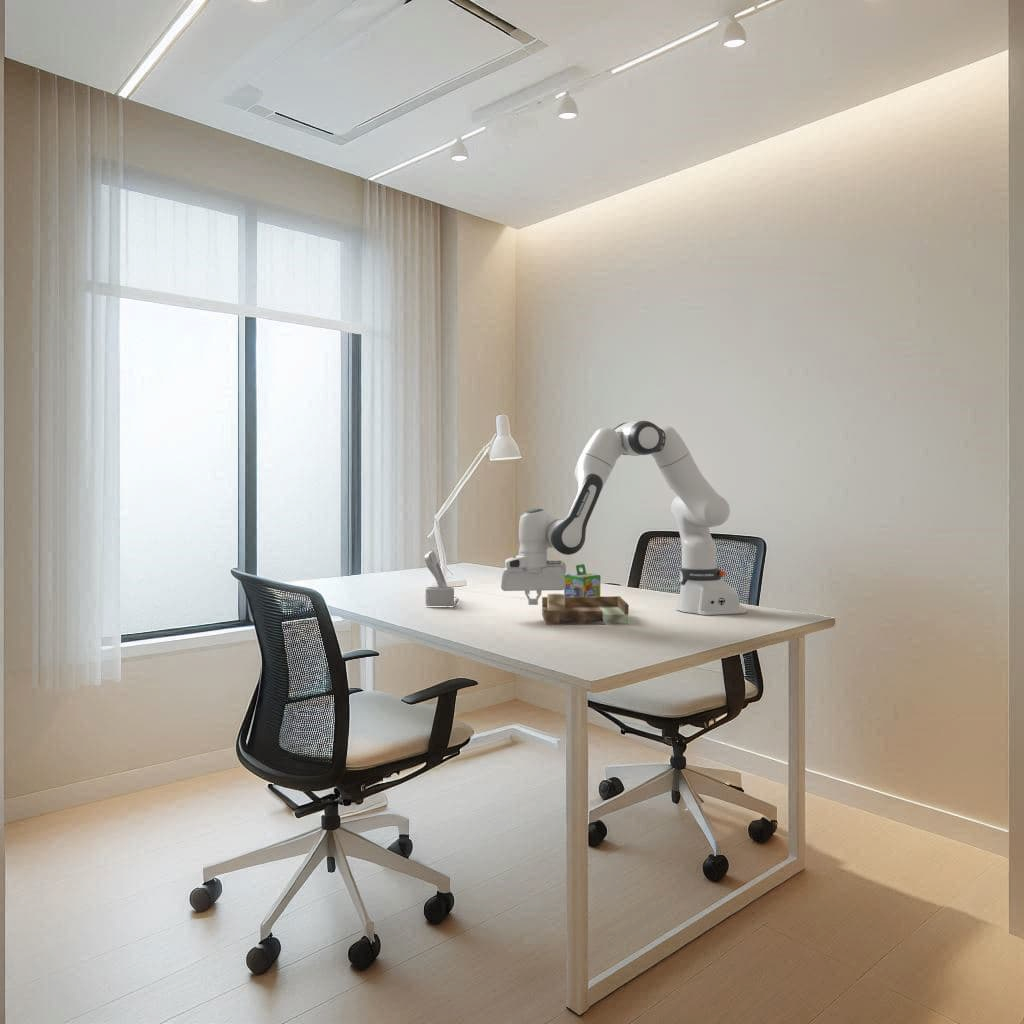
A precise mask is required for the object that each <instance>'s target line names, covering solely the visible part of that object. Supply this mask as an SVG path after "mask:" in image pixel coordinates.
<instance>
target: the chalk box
mask: <svg viewBox="0 0 1024 1024" xmlns="http://www.w3.org/2000/svg"><path fill="white" fill-rule="evenodd" d="M575 569H576V573H575V572H574V573H567V574H564V577H565V588H564V590H563V591H564V592H563V594H564V595H565V597H599V596H601V575H600V574H595V573H588V572H587V570H586V566H585V564H584V563H583V564H577V565H575ZM580 569H582V571H580Z"/></svg>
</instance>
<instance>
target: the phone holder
mask: <svg viewBox="0 0 1024 1024" xmlns="http://www.w3.org/2000/svg"><path fill="white" fill-rule="evenodd" d="M424 561H425V564H426V566H427V569H428V570H429V571H430V573H431V575H432V576H433V577H434V579H435V581H436V584H437V586H428V587H425V605H426V606H454V605H455V604H457V603H456V602H458V601H459V596H458V597H457V596H455V588H454V587H452V586H451V587H450V586H448V585H447V582H446V579H445V576H444V574H443V570H442V568H441V564H440V562H439V560H438V557H437V555H436V553H435V551H434V550H431V551H428V552H427V553H426V554H425V555H424ZM454 598H456V599H455V601H454ZM457 600H458V601H457ZM455 606H456V605H455Z"/></svg>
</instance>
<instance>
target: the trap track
mask: <svg viewBox="0 0 1024 1024" xmlns="http://www.w3.org/2000/svg"><path fill="white" fill-rule="evenodd" d="M541 600H542V601H541V616H542V619H543V620H544V623H545V625H546V626H585V625H586V626H588V625H589V626H590V625H591V626H592V625H594V626H595V625H598V626H599V625H603V626H604V625H629V616H630V615H629V603H627V601H625V600H624V599H623V598H622V596H619V595H617V596H616V595H615V596H606V595H605V596H601V595H600V596H599V597H565V610H563V611H549V610H548V596H542V597H541Z"/></svg>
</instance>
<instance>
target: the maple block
mask: <svg viewBox="0 0 1024 1024" xmlns="http://www.w3.org/2000/svg"><path fill="white" fill-rule="evenodd" d="M547 597H548V610H549V611H563V610H565V595H564V592H563V593H547Z"/></svg>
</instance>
